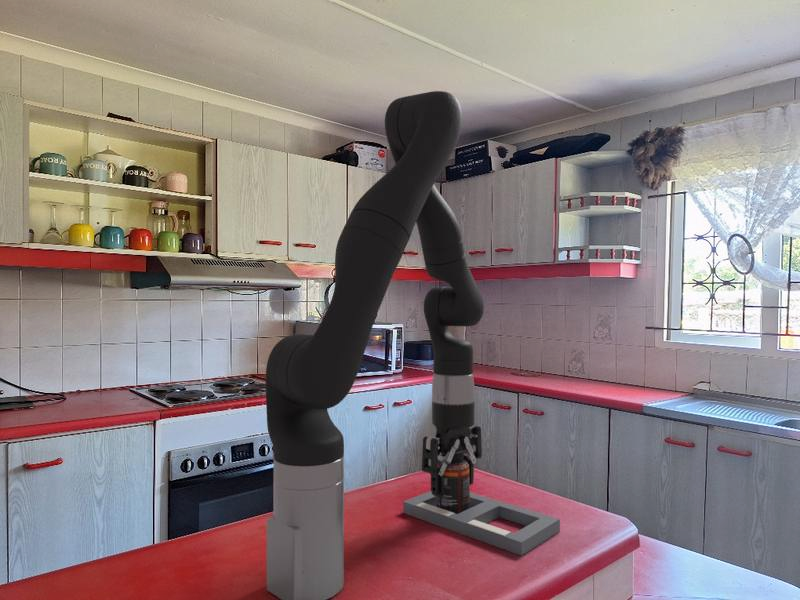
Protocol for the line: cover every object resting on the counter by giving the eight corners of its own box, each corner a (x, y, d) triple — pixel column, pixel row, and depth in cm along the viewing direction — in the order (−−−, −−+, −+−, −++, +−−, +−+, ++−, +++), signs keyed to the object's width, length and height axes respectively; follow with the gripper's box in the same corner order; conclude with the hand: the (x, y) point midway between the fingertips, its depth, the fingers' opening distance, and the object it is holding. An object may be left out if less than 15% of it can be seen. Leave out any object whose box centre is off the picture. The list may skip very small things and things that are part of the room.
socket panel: (521, 555, 82) (521, 541, 82) (403, 512, 98) (403, 501, 98) (559, 531, 91) (559, 518, 91) (445, 495, 107) (445, 484, 107)
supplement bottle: (469, 507, 101) (469, 445, 101) (470, 520, 95) (470, 454, 95) (436, 506, 102) (436, 444, 102) (435, 519, 96) (435, 453, 96)
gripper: (444, 407, 91) (444, 506, 91) (493, 396, 101) (493, 484, 101) (410, 401, 96) (410, 494, 96) (460, 391, 106) (460, 475, 106)
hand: (453, 489), depth 98 cm, fingers open, 8 cm apart
